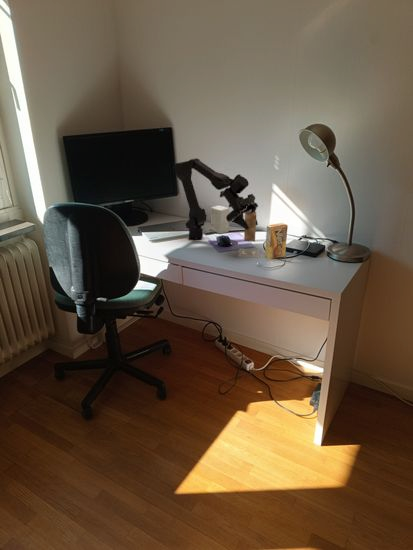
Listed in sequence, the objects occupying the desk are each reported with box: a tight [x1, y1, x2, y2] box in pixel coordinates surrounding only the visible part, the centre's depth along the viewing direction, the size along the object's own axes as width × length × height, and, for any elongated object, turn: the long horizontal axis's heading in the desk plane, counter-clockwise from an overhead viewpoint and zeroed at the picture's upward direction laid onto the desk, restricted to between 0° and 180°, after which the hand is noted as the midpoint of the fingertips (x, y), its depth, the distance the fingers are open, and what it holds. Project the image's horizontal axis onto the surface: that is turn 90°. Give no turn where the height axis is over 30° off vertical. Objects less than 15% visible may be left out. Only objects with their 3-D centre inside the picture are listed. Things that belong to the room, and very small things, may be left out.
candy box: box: [264, 222, 289, 260], centre depth 191 cm, size 9×4×15 cm, turn 116°
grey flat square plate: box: [237, 248, 261, 258], centre depth 198 cm, size 10×10×1 cm
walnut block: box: [243, 211, 257, 242], centre depth 192 cm, size 5×5×12 cm
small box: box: [210, 204, 230, 234], centre depth 224 cm, size 8×6×13 cm
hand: (252, 227), depth 191 cm, fingers closed on walnut block, 7 cm apart
